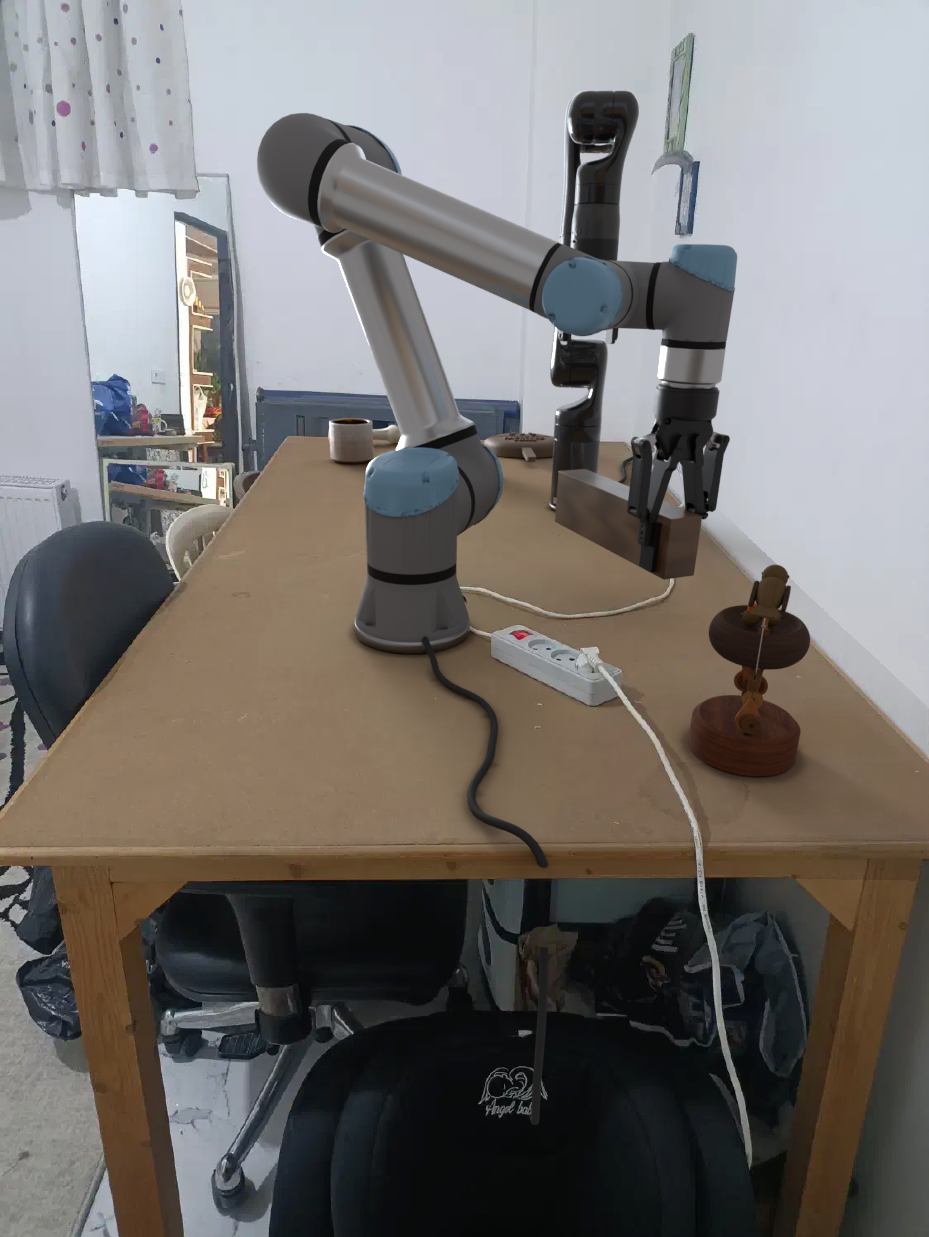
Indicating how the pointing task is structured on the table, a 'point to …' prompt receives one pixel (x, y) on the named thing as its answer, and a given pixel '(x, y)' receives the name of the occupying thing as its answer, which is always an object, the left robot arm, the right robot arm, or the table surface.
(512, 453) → the ice cream bar
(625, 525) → the bar
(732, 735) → the brown wooden stacked piece
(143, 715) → the table surface
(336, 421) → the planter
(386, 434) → the dog toy
